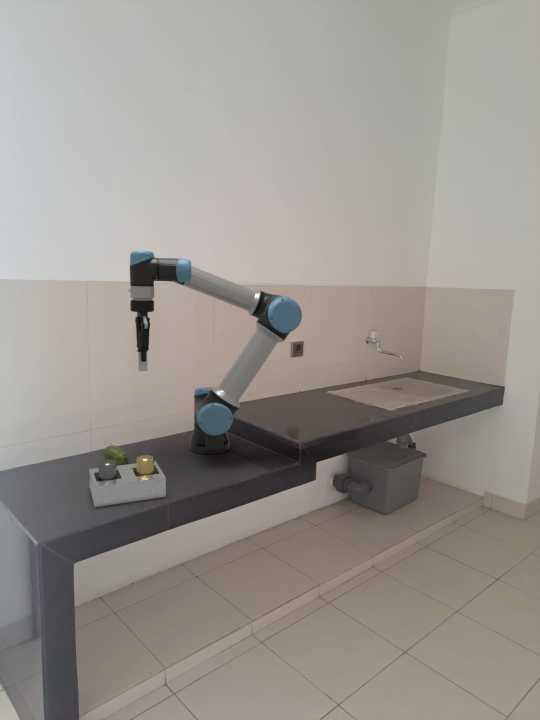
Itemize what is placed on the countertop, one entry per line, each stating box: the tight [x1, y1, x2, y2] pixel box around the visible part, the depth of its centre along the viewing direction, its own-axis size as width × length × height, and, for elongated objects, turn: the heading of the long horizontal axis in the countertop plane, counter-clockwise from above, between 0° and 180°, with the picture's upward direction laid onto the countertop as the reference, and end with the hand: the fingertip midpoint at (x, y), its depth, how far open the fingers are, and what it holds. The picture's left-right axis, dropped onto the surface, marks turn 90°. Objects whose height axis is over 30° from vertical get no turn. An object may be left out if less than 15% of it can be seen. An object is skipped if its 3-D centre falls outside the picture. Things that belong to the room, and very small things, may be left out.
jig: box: [88, 459, 167, 508], centre depth 156 cm, size 20×14×10 cm
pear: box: [103, 445, 129, 466], centre depth 180 cm, size 6×5×10 cm
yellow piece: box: [136, 454, 155, 476], centre depth 158 cm, size 5×5×10 cm
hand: (142, 370), depth 175 cm, fingers closed
